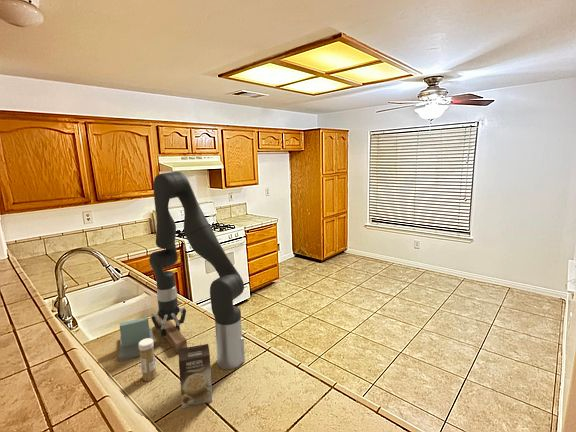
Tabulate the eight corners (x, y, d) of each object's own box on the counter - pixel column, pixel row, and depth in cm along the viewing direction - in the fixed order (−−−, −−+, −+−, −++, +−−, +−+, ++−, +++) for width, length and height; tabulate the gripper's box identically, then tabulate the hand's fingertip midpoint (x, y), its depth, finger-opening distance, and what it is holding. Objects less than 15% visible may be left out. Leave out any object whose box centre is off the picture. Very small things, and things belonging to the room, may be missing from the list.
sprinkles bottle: (158, 378, 102) (154, 342, 99) (143, 383, 99) (139, 347, 97) (155, 370, 106) (151, 336, 103) (141, 375, 103) (137, 340, 101)
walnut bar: (165, 322, 137) (165, 314, 136) (187, 349, 117) (186, 339, 116) (156, 325, 134) (156, 317, 134) (177, 353, 115) (176, 343, 114)
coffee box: (181, 409, 89) (177, 361, 86) (181, 394, 95) (177, 348, 92) (213, 401, 92) (209, 354, 89) (211, 386, 98) (208, 342, 95)
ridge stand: (152, 331, 130) (149, 309, 128) (154, 352, 116) (151, 327, 114) (121, 338, 125) (118, 315, 123) (118, 361, 110) (115, 335, 108)
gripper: (148, 304, 116) (152, 344, 119) (186, 296, 122) (189, 334, 125) (147, 296, 123) (152, 334, 126) (184, 289, 129) (187, 325, 132)
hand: (170, 334), depth 126 cm, fingers closed on walnut bar, 4 cm apart
